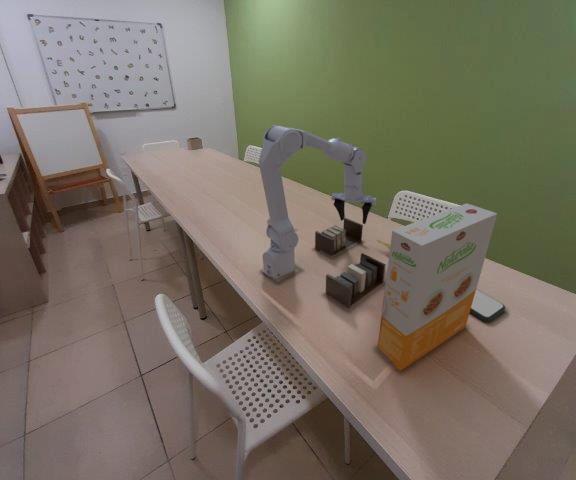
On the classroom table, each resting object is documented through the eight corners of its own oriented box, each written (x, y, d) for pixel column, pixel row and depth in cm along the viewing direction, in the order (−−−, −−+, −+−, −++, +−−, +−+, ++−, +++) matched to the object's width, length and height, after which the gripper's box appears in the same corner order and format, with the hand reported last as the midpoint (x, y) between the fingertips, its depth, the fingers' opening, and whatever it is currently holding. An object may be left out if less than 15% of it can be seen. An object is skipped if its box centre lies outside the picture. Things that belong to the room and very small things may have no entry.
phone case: (506, 310, 76) (448, 276, 89) (507, 306, 76) (449, 272, 88) (486, 324, 72) (428, 287, 85) (487, 320, 72) (429, 282, 84)
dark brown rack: (331, 258, 100) (332, 239, 97) (314, 249, 105) (315, 231, 102) (361, 241, 109) (363, 224, 106) (344, 234, 114) (345, 217, 112)
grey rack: (347, 311, 77) (349, 289, 75) (325, 295, 83) (325, 275, 80) (383, 284, 87) (386, 264, 84) (360, 272, 92) (362, 252, 90)
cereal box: (441, 311, 76) (466, 203, 64) (465, 327, 71) (497, 213, 59) (377, 349, 66) (392, 230, 54) (399, 371, 61) (421, 245, 49)
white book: (360, 292, 82) (362, 274, 80) (346, 284, 86) (347, 266, 83) (364, 290, 83) (366, 271, 81) (350, 281, 87) (351, 263, 84)
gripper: (379, 181, 96) (377, 218, 102) (335, 177, 102) (337, 212, 108) (373, 189, 90) (372, 228, 96) (328, 185, 97) (330, 221, 103)
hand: (353, 220), depth 102 cm, fingers open, 7 cm apart
